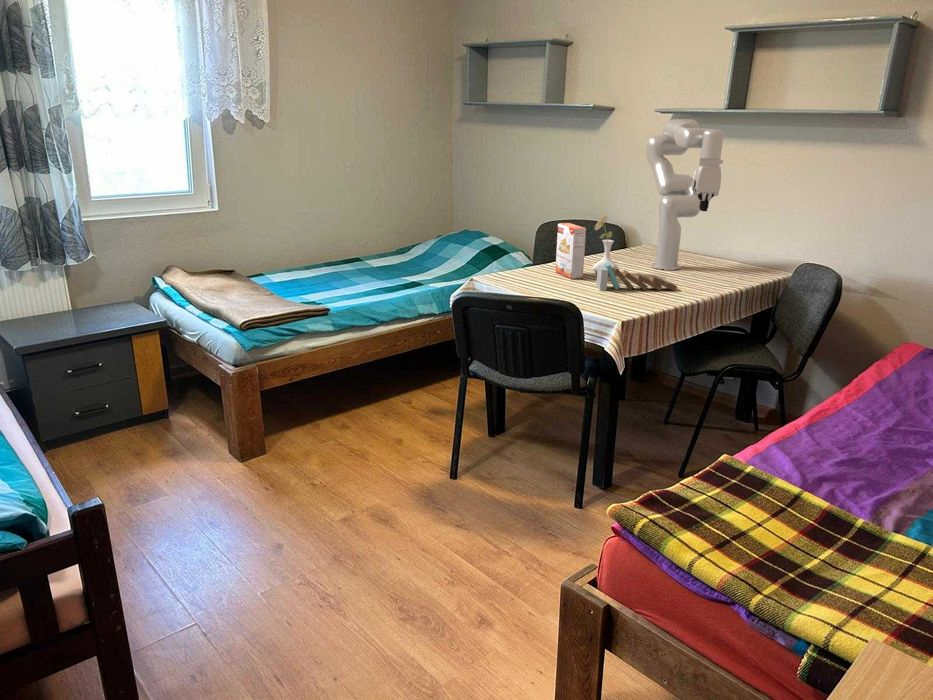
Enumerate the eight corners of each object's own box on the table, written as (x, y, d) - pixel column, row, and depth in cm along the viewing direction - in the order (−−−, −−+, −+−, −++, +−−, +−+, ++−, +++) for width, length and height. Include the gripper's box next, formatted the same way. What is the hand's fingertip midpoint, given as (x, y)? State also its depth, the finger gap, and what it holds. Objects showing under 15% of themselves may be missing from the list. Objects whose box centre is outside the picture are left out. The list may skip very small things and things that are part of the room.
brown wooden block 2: (675, 291, 275) (652, 281, 274) (671, 288, 280) (648, 278, 278) (677, 286, 274) (654, 277, 273) (673, 283, 279) (651, 274, 278)
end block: (596, 285, 281) (597, 265, 278) (602, 285, 281) (604, 265, 278) (599, 290, 273) (601, 270, 271) (606, 290, 273) (608, 270, 271)
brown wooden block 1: (630, 290, 275) (613, 271, 272) (627, 287, 279) (611, 268, 277) (633, 287, 274) (617, 268, 272) (630, 284, 279) (614, 265, 277)
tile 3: (645, 290, 275) (624, 276, 273) (641, 287, 279) (621, 273, 278) (647, 286, 274) (627, 272, 272) (644, 283, 279) (624, 269, 277)
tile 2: (659, 290, 275) (637, 279, 273) (656, 287, 280) (634, 276, 278) (662, 286, 274) (639, 275, 273) (658, 283, 279) (636, 272, 278)
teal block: (617, 285, 279) (608, 262, 276) (620, 287, 275) (610, 264, 272) (613, 286, 280) (603, 264, 277) (615, 289, 275) (606, 266, 272)
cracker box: (554, 272, 303) (557, 223, 296) (567, 271, 305) (570, 222, 298) (570, 279, 291) (573, 228, 284) (583, 278, 293) (587, 227, 286)
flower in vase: (605, 269, 312) (610, 211, 304) (624, 274, 303) (630, 214, 295) (583, 272, 305) (587, 213, 297) (602, 277, 296) (607, 216, 288)
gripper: (722, 162, 282) (715, 209, 288) (687, 162, 279) (681, 209, 285) (732, 164, 275) (725, 212, 281) (696, 163, 272) (690, 212, 278)
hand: (703, 210), depth 283 cm, fingers closed
